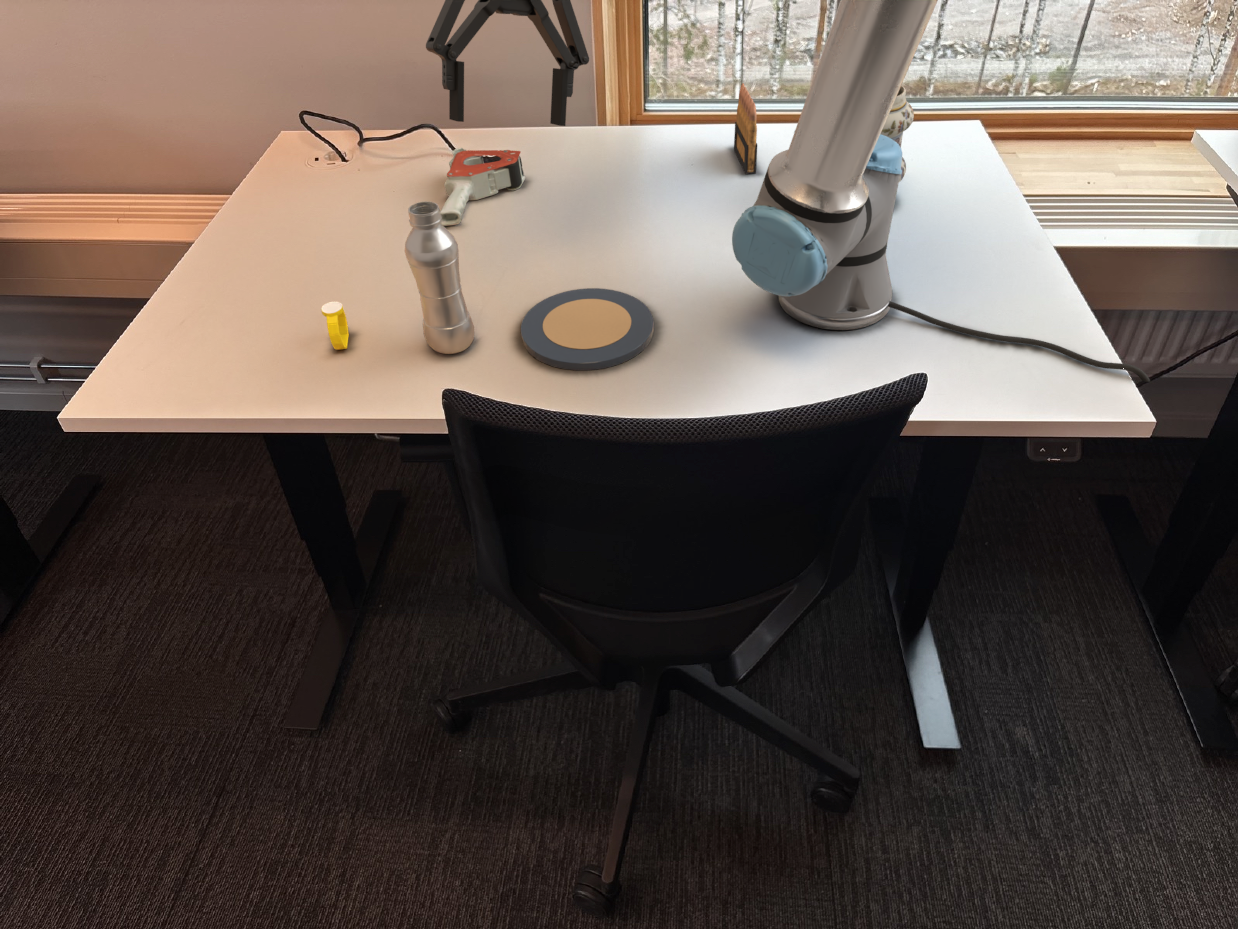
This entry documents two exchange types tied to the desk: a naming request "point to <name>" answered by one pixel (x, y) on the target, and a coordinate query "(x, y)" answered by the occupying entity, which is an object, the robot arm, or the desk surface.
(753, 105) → the ammunition clip
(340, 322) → the watch
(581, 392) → the desk surface
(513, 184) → the tape dispenser
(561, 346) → the plate
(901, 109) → the apothecary jar
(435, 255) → the silver metal bottle
